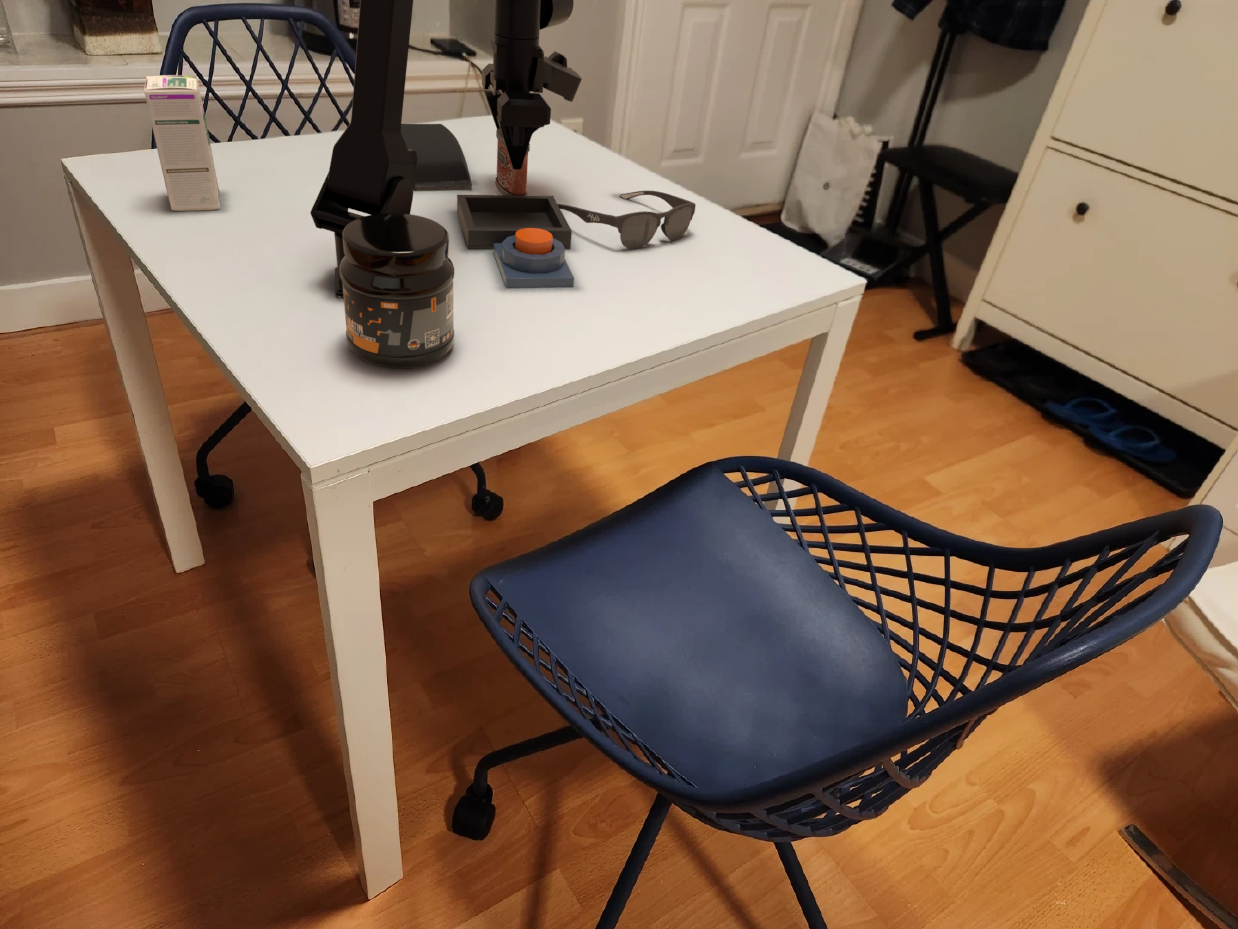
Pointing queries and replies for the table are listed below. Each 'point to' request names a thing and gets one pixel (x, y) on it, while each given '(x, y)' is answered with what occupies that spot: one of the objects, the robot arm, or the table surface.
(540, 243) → the test button
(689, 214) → the sunglasses
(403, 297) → the supplement container
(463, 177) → the hard drive
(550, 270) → the box
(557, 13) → the robot arm
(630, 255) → the table surface
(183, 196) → the syrup box
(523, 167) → the lighter
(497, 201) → the holder
